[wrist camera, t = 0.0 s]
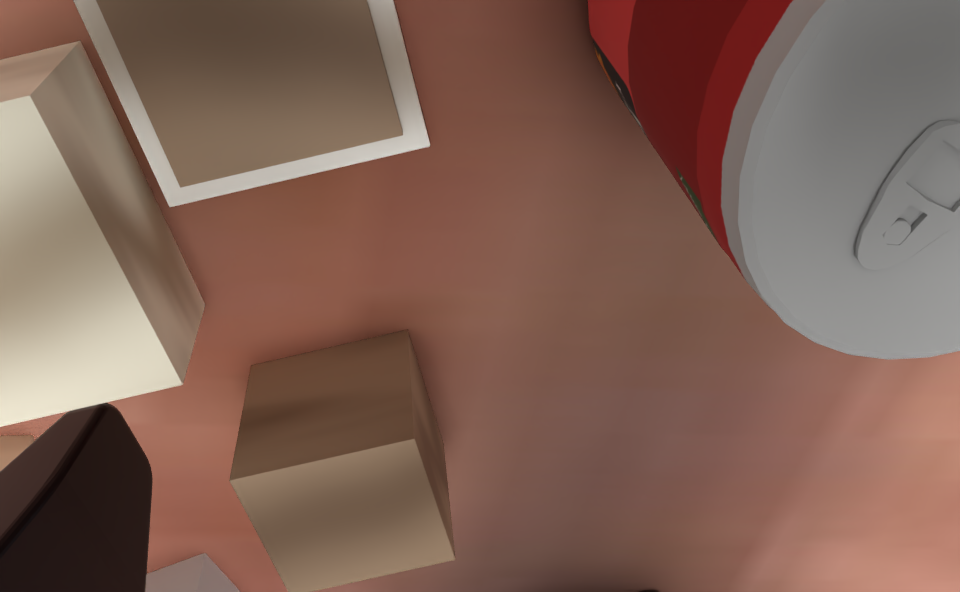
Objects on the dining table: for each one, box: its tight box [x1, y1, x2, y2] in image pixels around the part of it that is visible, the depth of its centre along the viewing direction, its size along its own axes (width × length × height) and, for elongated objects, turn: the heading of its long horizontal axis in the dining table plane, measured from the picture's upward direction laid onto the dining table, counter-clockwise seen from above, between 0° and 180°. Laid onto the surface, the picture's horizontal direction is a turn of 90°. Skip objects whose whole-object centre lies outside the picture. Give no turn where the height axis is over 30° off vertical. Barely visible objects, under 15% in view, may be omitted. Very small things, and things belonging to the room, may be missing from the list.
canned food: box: [588, 0, 960, 359], centre depth 17 cm, size 8×8×11 cm
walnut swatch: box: [73, 0, 430, 207], centre depth 21 cm, size 7×7×1 cm
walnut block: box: [229, 330, 455, 592], centre depth 26 cm, size 5×5×5 cm
